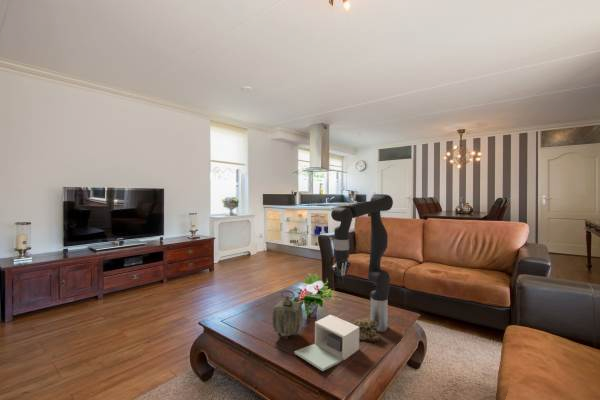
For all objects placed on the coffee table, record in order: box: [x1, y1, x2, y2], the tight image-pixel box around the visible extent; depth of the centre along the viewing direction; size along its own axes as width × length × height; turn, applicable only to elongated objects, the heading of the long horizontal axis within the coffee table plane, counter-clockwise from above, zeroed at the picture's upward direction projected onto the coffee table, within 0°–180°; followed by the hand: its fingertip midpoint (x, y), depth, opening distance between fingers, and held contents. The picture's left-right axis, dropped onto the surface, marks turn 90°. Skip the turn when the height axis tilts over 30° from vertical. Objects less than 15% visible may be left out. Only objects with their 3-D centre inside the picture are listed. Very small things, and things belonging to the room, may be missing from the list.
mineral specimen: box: [352, 317, 380, 343], centre depth 145 cm, size 14×13×10 cm
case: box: [314, 314, 360, 361], centre depth 135 cm, size 12×18×12 cm, turn 44°
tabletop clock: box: [272, 290, 304, 340], centre depth 144 cm, size 14×9×25 cm, turn 77°
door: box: [294, 343, 343, 372], centre depth 125 cm, size 2×17×14 cm
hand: (340, 282), depth 136 cm, fingers closed
